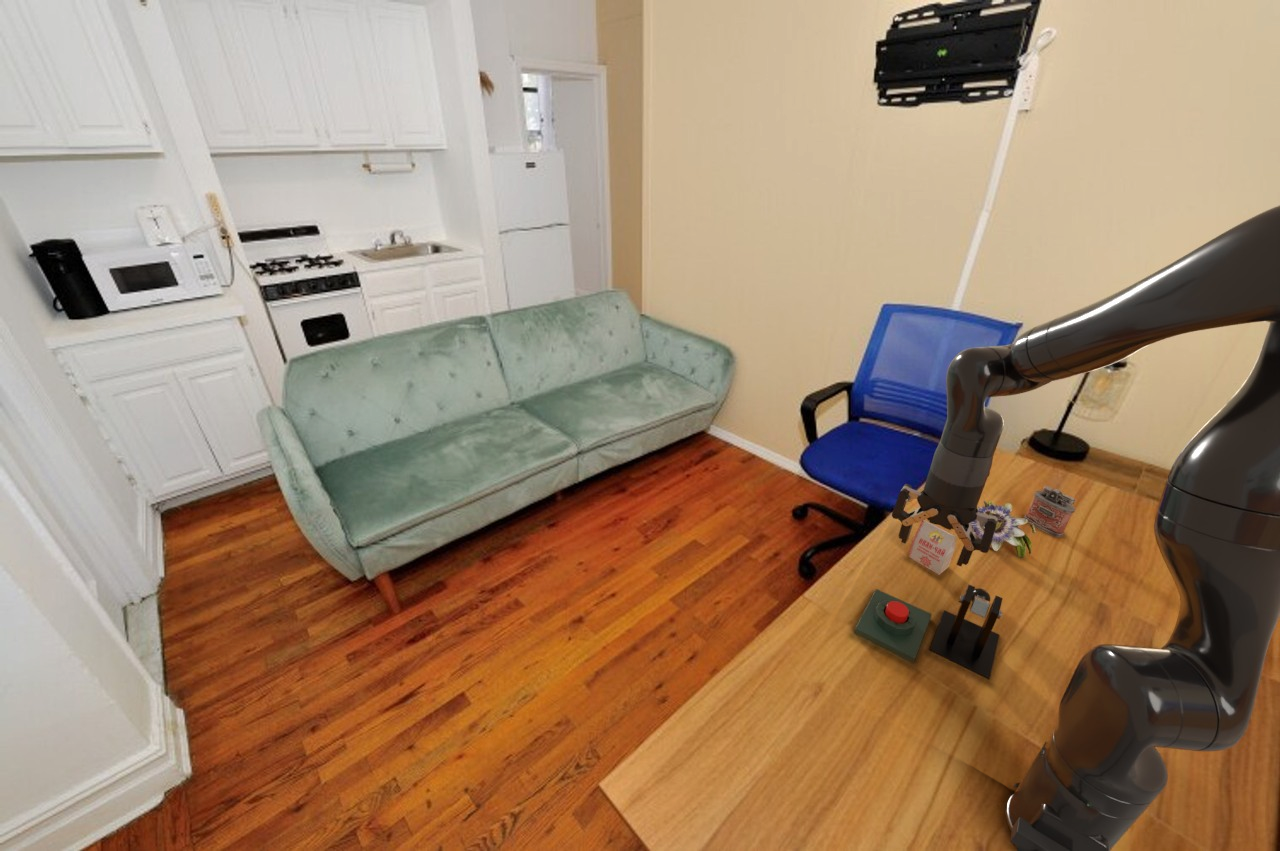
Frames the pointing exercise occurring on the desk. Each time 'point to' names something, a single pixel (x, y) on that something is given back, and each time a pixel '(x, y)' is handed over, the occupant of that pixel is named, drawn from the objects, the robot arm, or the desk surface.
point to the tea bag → (932, 547)
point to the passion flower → (1005, 528)
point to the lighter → (1050, 511)
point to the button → (896, 612)
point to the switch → (980, 602)
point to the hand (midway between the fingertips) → (931, 551)
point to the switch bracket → (968, 637)
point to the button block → (893, 627)
